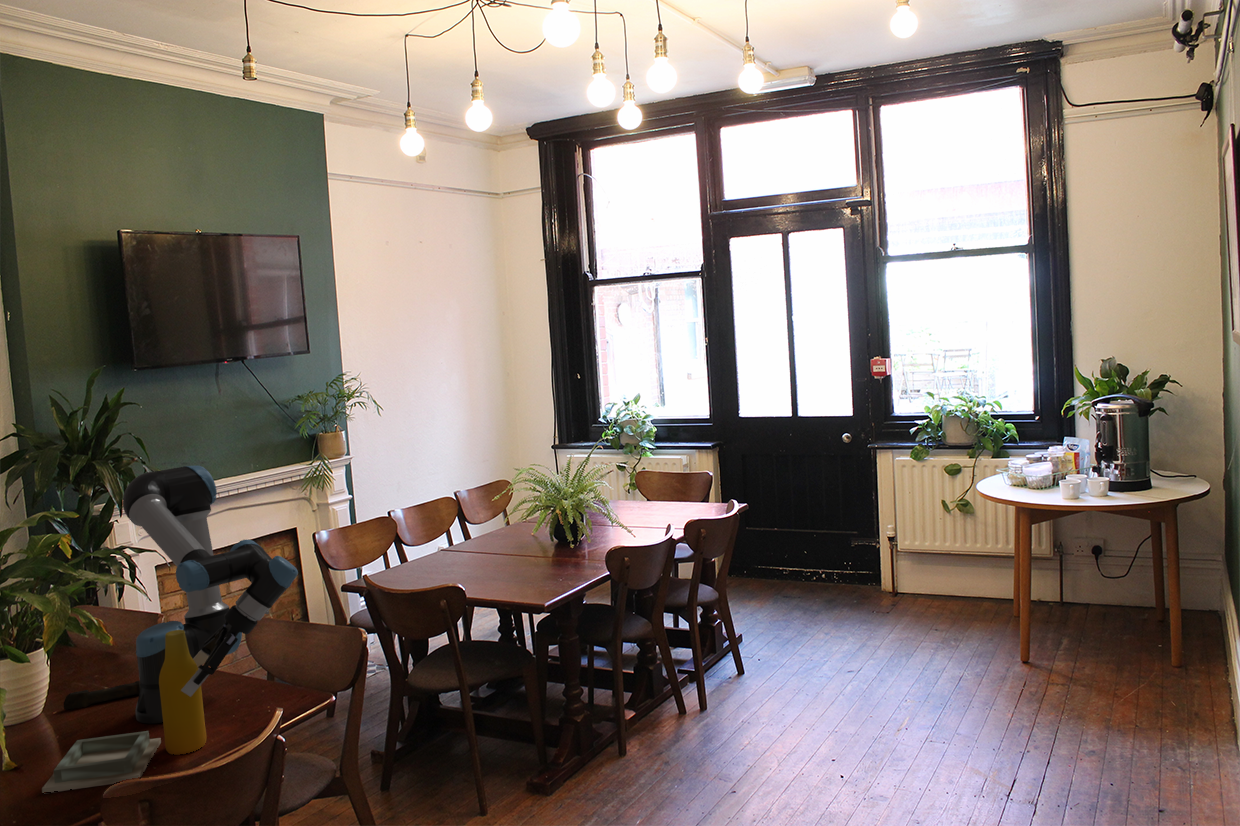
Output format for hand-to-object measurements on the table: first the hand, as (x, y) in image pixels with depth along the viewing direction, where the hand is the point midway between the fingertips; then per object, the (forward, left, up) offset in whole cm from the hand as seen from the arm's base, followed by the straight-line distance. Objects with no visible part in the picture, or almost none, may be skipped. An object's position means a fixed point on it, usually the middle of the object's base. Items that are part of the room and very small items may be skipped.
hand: (186, 683), depth 230 cm
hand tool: (-40, -31, -17) cm, 53 cm away
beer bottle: (-1, -2, -16) cm, 16 cm away
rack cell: (+4, -19, -16) cm, 25 cm away
